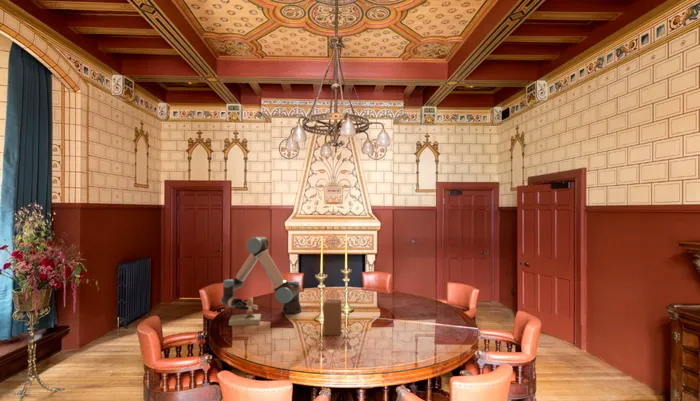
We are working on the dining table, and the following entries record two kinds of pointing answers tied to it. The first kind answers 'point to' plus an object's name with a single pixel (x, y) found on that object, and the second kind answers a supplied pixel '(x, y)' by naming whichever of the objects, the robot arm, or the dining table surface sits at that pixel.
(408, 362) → the dining table surface
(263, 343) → the dining table surface
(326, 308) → the block
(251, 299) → the peg
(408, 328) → the dining table surface
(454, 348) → the dining table surface
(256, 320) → the board
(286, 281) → the robot arm
